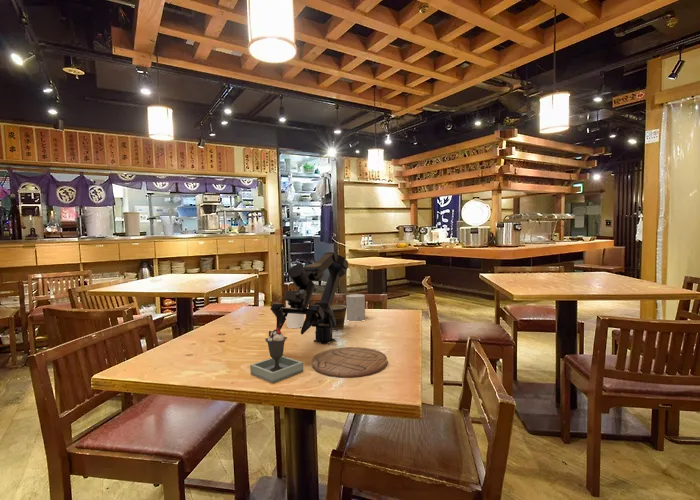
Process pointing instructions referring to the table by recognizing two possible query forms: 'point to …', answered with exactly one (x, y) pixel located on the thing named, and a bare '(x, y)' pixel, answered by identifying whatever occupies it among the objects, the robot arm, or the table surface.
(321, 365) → the trivet
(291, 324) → the cup
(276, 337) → the sundae
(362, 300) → the grey stone cylinder
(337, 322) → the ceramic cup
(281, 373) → the grey square tray
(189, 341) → the table surface
